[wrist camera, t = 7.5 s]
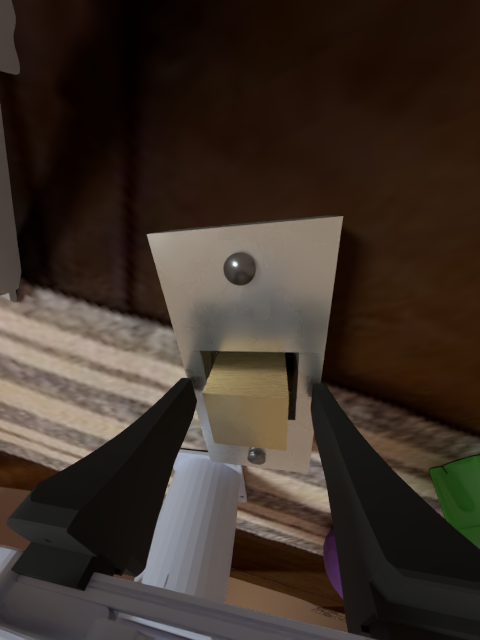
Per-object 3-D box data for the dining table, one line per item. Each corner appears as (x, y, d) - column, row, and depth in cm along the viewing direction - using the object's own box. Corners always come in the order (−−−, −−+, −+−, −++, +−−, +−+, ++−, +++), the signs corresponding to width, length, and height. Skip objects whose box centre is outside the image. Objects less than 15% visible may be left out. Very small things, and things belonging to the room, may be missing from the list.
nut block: (282, 381, 15) (286, 450, 11) (230, 379, 16) (214, 443, 11) (283, 336, 13) (288, 398, 9) (224, 336, 14) (202, 393, 9)
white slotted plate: (304, 441, 18) (309, 477, 15) (217, 433, 19) (209, 465, 17) (327, 215, 9) (345, 216, 7) (172, 230, 11) (142, 234, 8)
